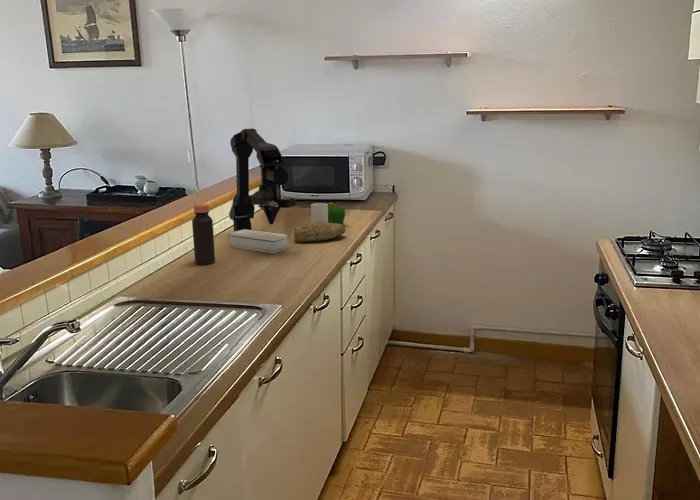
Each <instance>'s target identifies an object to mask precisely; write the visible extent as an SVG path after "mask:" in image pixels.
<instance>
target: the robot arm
mask: <svg viewBox="0 0 700 500" xmlns="http://www.w3.org/2000/svg"><path fill="white" fill-rule="evenodd" d="M229 142H230V143H229V144H230V147H231V152H232V153H233V154H234V156H235V158H236V159H235V163H236V164H235V166H236V194H235V196H234V197H233V199H232V204H231V207H230V211H229V213H228V215H229V219H230V220H232V221H233V232H235V231H239V230H243V229H246V230H252V222H251V219H254V218H255V217H254V216H255V206H257V205H258V206H257V207H258V208H260V209H261V210H263V212H264V214H265V216H266V219H267V221H268V223H269V225H271V226H272V225H274V223H275V221H276V217H277V215H278V213H279V211H280V209H281V208H282V209H288V208H292V207H294V206H297V201H296V199H295V198H294V197H289V196H288V197H287V196H285V197H282V198H281V194H279V187H281V186H283V185H285V184H286V183H287V182H288V180H289V174H288V172H287V170H286V169H284V168H283V167H284V165H285V163H284V158H283V156H282V154H281V151H280V149H279V148H278V147H277V145H275V144H274V143H270V142H267V141H266V140H265V139H264V138H262V136H261V135H260V134H259V133H258V131H257V129H255V128H252V127H251V128H243V129H242V130H241V131H240V132H238V133H235V134H234V135H233V136H232V137H231V138H230V141H229ZM253 151H255V152H256V159H257V161H258V163H259V169H260V175H261V178H260V179H261V184H259V187H258V190H256V191H255V192H254V193H253V194H250V175H249V174H250V173H249V172H250V170H249V167H250V166H249V165H250V162H249V161H250V160H249V158H250V157H251V156H252V154H253Z"/></svg>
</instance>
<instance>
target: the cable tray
mask: <svg viewBox="0 0 700 500" xmlns="http://www.w3.org/2000/svg"><path fill="white" fill-rule="evenodd" d="M230 247H232V248H236V249H242V250H251V251H256V252H257V251H258V252H263V253H270V254H277V253H279V252H282V251H284V250H287V249H288V247H289V246H288V237H287V238H284V239H280V240H277V241H268V240H261V239H254V238H246V237H239V236H232V235H230Z"/></svg>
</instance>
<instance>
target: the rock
mask: <svg viewBox="0 0 700 500" xmlns="http://www.w3.org/2000/svg"><path fill="white" fill-rule="evenodd" d="M345 233H346V226H345V224H344V225H342V224H337V223H320V222H319V223H314V224H312V223H310V224H304V225H300V226H297V227H295V228H294V232H293V235H294V236H293V237H294V240H295V242H296V243H309V242H311V243H312V242H317V241H318V242H320V241H329V240H333V239H336V238H338V237H341V236H342V235H344V234H345Z"/></svg>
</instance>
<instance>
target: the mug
mask: <svg viewBox="0 0 700 500" xmlns="http://www.w3.org/2000/svg"><path fill="white" fill-rule="evenodd" d="M328 206H329V203H324V202H316V203H312V204H310V216H311V217H310V219H311V224H314V223H319V222H320V223H328Z"/></svg>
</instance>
